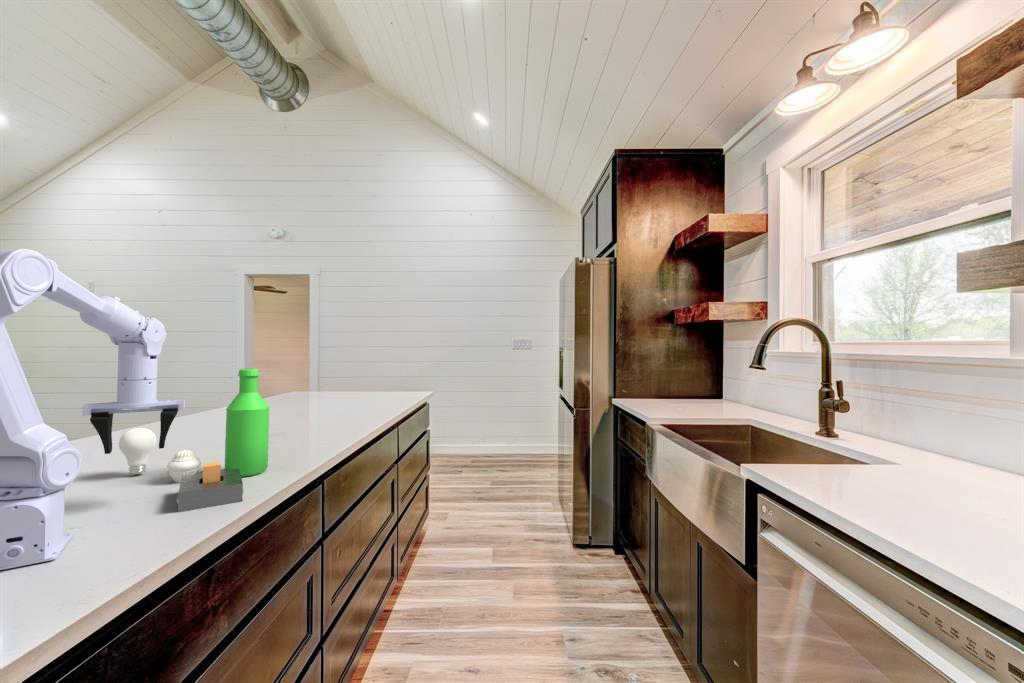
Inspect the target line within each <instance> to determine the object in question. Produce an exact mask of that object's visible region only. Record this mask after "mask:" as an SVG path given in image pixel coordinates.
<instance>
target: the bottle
mask: <svg viewBox="0 0 1024 683" xmlns="http://www.w3.org/2000/svg"><path fill="white" fill-rule="evenodd" d="M259 371H260V370H259V369H258V368H241V369H239V371H238V375H237V376H238V377H239V382H238V383H239V385H238V394H237V395H236V396H235V397H234V398H233V399H232V401H231V402H230V403H229V405H228V406H227V407H226V409H225V410H226V415H225V418H226V419H225V421H226V422H225V439H224V442H225V445H224V446H225V447H224V448H225V449H224V470H232V469H240V474H241V478H245V477H251V476H256V475H259V474H261V473H264V471H265V470H267V468H268V466H269V463H268V462H269V439H270V438H269V435H270V433H269V432H270V405H269V404H268V403H267V402H266V400H265V399H264V398H263V397H262V395H261V394H260V393H259V376H260V372H259Z"/></svg>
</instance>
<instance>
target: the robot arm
mask: <svg viewBox="0 0 1024 683" xmlns="http://www.w3.org/2000/svg"><path fill="white" fill-rule="evenodd" d="M40 296H42V297H44V298H46V299H49V300H50V301H52V302H55V303H58V304H60V305H62V306H65V307H68V308H70V309H71V310H74V311H76V312H79V316H80V319H81V320H82V322H83V323H84V324H86V325H88V326H90V327H91V328H93V329H96V330H98V331H101V332H102V333H103V334H104V333H105V334H107V336H109V339H110V341H111V342H112V344H114V345H115V346H118V348H117V349H118V350H117V352H118V354H117V380H116V383H117V385H116V386H117V387H116V388H117V389H116V401H113V402H111V401H109V402H97V403H95V402H94V403H85V404H83V405H82V416H83V417H84V416H87V417H88V416H90V418H89V421H90V423H91V425H93V428H94V429H95V430H96V432H97V434H98V436H99V438H100V441H101V443H102V445H103V451H104V454H105V455H108V454H111V453H112V451H113V436H112V435H113V434H112V430H113V417H114V414H124V413H127V414H128V413H129V414H130V413H145V412H159V411H161V412H160V416H159V417H160V420H159V421H160V429H159V430H160V431H159V434H160V435H159V439H158V449H159V450H160V449H165V445H166V439H167V436H168V433H169V430H170V427H171V425H172V424H173V421H174V420H175V418H176V417H177V414H178V412H179V411H184V410H185V409H186V399H184V398H183V399H181V398H179V399H157V398H158V397H157V392H158V365H159V364H158V360H159V356H160V355H161V353H162V349H163V348H162V347H163V344H164V343H165V341H166V338H167V334H168V333H167V331H166V328H165V325H164V324H163V323H162V322H161V321H160V320H159V319H158V318H155V317H153V316H152V317H149V316H147V317H146V316H144V315H142V314H140V311H139V310H137V309H133V308H131V307H129V306H127V305H126V304H124V303H122V302H121V298H120V297H118V296H115V295H96V294H94V293H93V292H91V291H90V290H89V289H87V288H85V287H84V286H83V285H81V284H79V283H78V282H77V281H75V280H74V279H72V278H71V277H69V276H68V275H66V274H65V273H64V272H62V271H60V270H59V267H58V264H57V262H56V261H54V260H52V259H49V258H47V257H46V256H44V255H43V254H42V253H40V252H38V251H36V250H33V249H29V248H15V249H8V248H7V249H6V248H5V249H4V248H3V249H2V248H0V571H3V570H8V569H14V568H18V567H24V566H29V565H34V564H39V563H44V562H49V561H53V560H56V559H58V557H59V555H60V553H62V551H63V550H64V549H65V547H66V546H67V544H68V543H69V541H70V540H71V539H72V537H73V532H66V533H65V504H66V502H65V500H66V499H65V498H66V497H65V496H66V488H70V487H71V483H73V481H74V480H75V479H76V478H77V477H78V475H79V473H80V471H81V468H82V463H83V458H82V455H81V452H80V451H79V449H77V448H76V447H75V446H73V445H72V444H71V443H70V441H69V439H68V437H67V435H66V434H65V433H63V432H61V431H59V430H57V429H55V428H53V427H51V426H49V425H48V424H46V423H45V422H44V420H43V417H42V414H41V412H40V410H39V408H38V407H39V406H38V405H37V402H36V400H35V397H34V395H33V393H32V390H31V387H30V385H29V383H28V380H27V378H26V375H25V372H24V370H23V368H22V365H21V363H20V361H19V358H18V355H17V353H16V350H15V347H14V345H13V343H12V340H11V337H10V335H9V333H8V331H7V328H6V325H5V323H6V321H7V320H8V319H9V318H10V317H11V315H13V314H16V313H18V312H19V311H20V310H21V309H23V308H25V307H26V306H28V305H29V304H30V303H31V302H33V301H34V300H35V299H37V298H38V297H40Z"/></svg>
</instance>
